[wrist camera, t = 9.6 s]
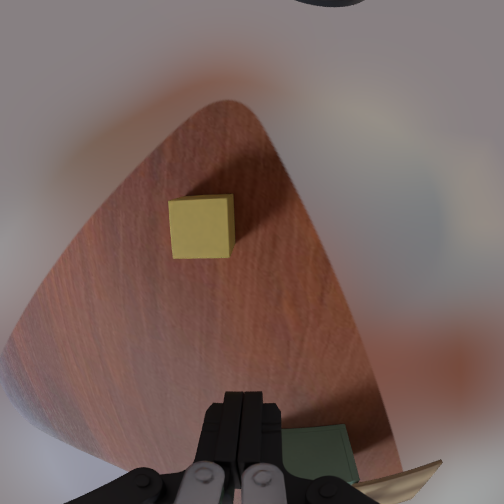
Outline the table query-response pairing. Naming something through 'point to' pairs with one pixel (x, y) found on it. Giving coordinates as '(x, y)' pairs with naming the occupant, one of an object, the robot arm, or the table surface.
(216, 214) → the block
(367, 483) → the slide door
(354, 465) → the case
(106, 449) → the table surface
